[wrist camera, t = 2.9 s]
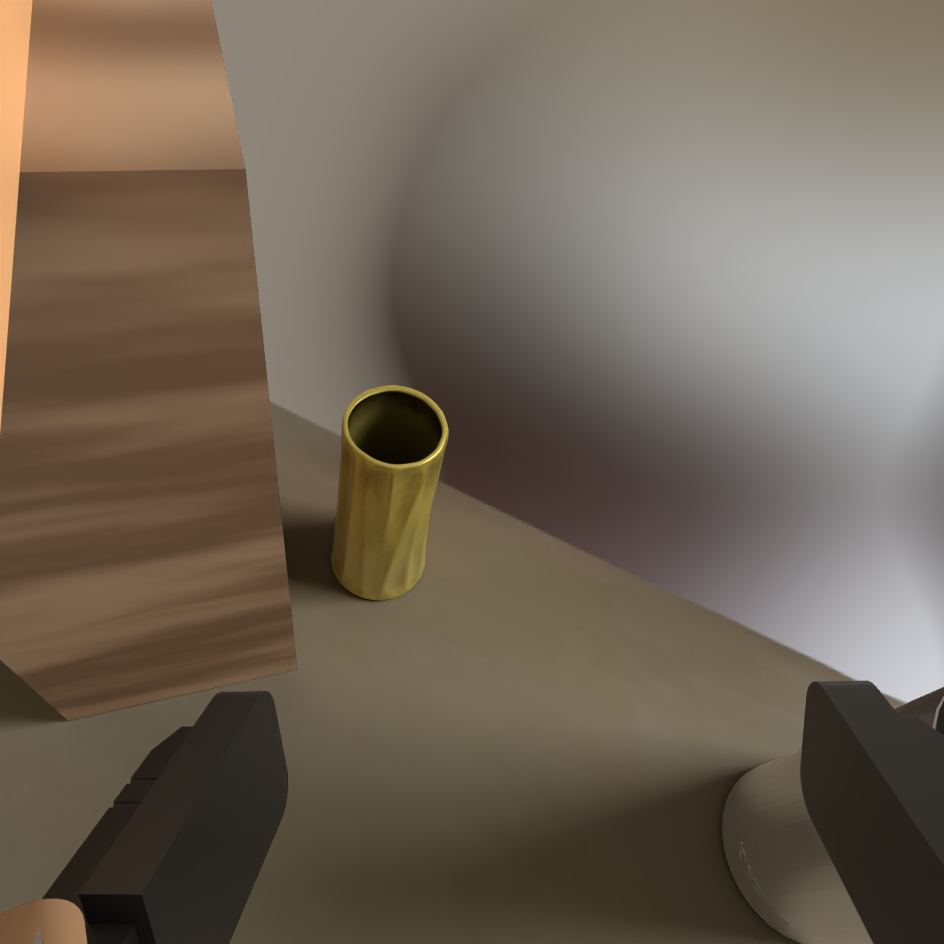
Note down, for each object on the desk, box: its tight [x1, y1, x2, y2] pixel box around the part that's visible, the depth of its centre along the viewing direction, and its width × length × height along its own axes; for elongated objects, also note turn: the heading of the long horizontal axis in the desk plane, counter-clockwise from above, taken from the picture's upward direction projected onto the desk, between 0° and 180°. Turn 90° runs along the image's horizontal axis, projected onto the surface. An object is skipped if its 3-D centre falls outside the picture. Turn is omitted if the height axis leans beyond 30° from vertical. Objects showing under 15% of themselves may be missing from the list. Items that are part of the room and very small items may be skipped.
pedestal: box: [0, 0, 297, 721], centre depth 29 cm, size 12×12×32 cm
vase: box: [331, 385, 448, 600], centre depth 40 cm, size 6×6×14 cm
